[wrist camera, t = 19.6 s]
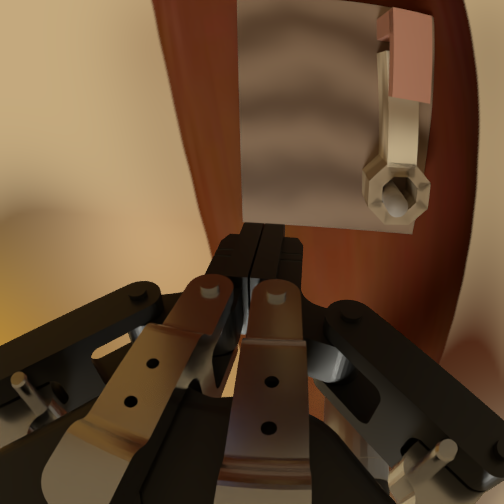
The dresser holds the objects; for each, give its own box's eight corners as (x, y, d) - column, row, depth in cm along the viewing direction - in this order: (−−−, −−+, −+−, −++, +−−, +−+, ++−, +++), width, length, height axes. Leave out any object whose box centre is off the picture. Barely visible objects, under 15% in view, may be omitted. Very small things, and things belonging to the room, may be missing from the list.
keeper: (407, 98, 23) (430, 103, 18) (375, 93, 23) (392, 97, 19) (408, 25, 19) (431, 15, 15) (376, 19, 20) (392, 7, 15)
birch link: (414, 209, 28) (425, 225, 25) (360, 208, 29) (366, 224, 26) (420, 58, 21) (434, 56, 18) (359, 52, 22) (366, 49, 19)
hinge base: (409, 229, 30) (427, 263, 25) (244, 217, 33) (230, 249, 28) (429, 18, 19) (458, 8, 14) (239, 1, 22) (221, -17, 16)
